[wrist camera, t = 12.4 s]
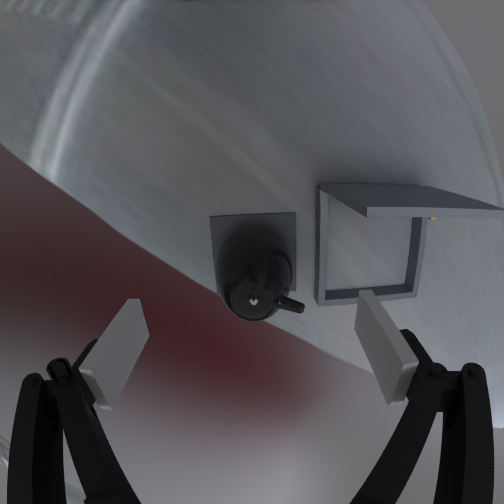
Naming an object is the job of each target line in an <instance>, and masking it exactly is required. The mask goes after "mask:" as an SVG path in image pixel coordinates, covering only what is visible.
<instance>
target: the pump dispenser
mask: <svg viewBox="0 0 504 504" xmlns="http://www.w3.org/2000/svg"><path fill="white" fill-rule="evenodd" d="M293 276H294V262H293V257H292V253H291V251H290V248H289V246H288V245H287V243H286V242H285V241H284V240H283V239H282V238H281V237H280V236H279V235H278V234H276V233H274V232H273V231H270V230H268V229H265V228H259V227H250V228H245V229H241V230H239V231H237V232H235V233H233V234H232V235H230V236H229V237H228V238H227V239H226V240H225V241H224V242H223V244H222V245H221V247H220V249H219V251H218V254H217V258H216V264H215V277H216V283H217V287H218V290H219V293H220V295H221V297H222V299H223V301H224V303H225V304H226V306H227V307H228V308H229V310H230V311H231V312H232V313H233V314H235V315H236V316H237V317H239V318H241V319H243V320H246V321H252V322H256V321H262V320H265V319H267V318H269V317H271V316H272V315H274V314H275V313H276V312H277V311H278V310H279V309H284V310H288V311H292V312H296V313H300V314H301V313H303V311H304V309H305V305H304V304H303V303H300V302H298V301H296V300H293V299H291V298H289V297H288V295H289V292H290V290H291V287H292V283H293Z"/></svg>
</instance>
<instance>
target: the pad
mask: <svg viewBox="0 0 504 504" xmlns="http://www.w3.org/2000/svg"><path fill="white" fill-rule="evenodd" d="M210 225H211V236H212V246H213V256H214V266H215V264H216V258H217V254H218V251H219V249H220V247H221V245H222V244H223V242H224V241H225V240H226V239H227V238H228V237H229V236H230V235H232V234H233V233H235V232H237V231H239V230H241V229H245V228H250V227H259V228H265V229H268V230H270V231H273V232H274V233H276V234H278V235H279V236H280V237H281V238H282V239H283V240H284V241H285V242H286V243H287V245H288V246H289V248H290V251H291V253H292V257H293V262H294V276H293V283H292V287H291V290H290V291H296V213H295V212H294V213H268V214H246V215H227V216H210ZM216 285H217V283H216ZM217 294H220V293H219V290H218V287H217Z"/></svg>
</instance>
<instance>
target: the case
mask: <svg viewBox="0 0 504 504" xmlns="http://www.w3.org/2000/svg"><path fill="white" fill-rule="evenodd" d="M328 197H334V198H335V199H337V200H339V201H340V202H342V203H344V204H346V205H347V206H349V207H351V208H352V209H354V210H355V211H357V212H359V213H360V214H362V215H364V216H365V217H413V220H412V232H411V242H410V251H409V259H408V267H407V274H406V280H405V284H403V285H393V286H382V287H370V288H358V289H345V290H331V291H325V288H326V267H327V235H328ZM435 217H462V218H503V219H504V209H503V208H500V207H497V206H494V205H491V204H488V203H485V202H482V201H479V200H476V199H472V198H469V197H466V196H462V195H459V194H456V193H452V192H449V191H445V190H441V189H437V188H434V187H430V186H413V185H388V184H320V187H316V266H315V295H314V297H315V300H316V303H317V306H332V305H344V304H356V303H358V297H359V290H369V289H371V290H372V291H373V293H374V294H375V296H376V297H377V298H378V300H379V301H386V300H396V299H404V298H413V297H417V292H418V286H419V281H420V275H421V269H422V262H423V255H424V247H425V239H426V229H427V218H428V219H430V220H435Z"/></svg>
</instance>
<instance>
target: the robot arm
mask: <svg viewBox="0 0 504 504" xmlns="http://www.w3.org/2000/svg"><path fill="white" fill-rule="evenodd" d="M354 329H355V331H356V334H357V336H358V338H359V340H360V342H361V345H362V347H363V349H364V351H365V353H366V356H367V358H368V360H369V362H370V365H371V367H372V369H373V372H374V374H375V376H376V378H377V381H378V383H379V386H380V388H381V390H382V393H383V395H384V397H385V400H386V402H387V404H388V407H390V406H394V405H399V404H402V403H403V401H404V399H405V397H406V396H407V398H408V400H409V402H408V405H407V407H406V409H405V411H404V413H403V415H402V417H401V419H400V421H399V423H398V425H397V427H396V429H395V431H394V433H393V435H392V437H391V439H390V441H389V443H388V444H387V446H386V448H385V450H384V451H383V453H382V455H381V457H380V458H379V460H378V462H377V464H376V465H375V467H374V468H373V470H372V471H371V473H370V475H369V476H368V478H367V479H366V481H365V482H364V484H363V485H362V487H361V488H360V490H359V491H358V493H357V494H356V495H355V497H354V498H353V500H352V501H351V502H350V504H395V503H396V501H397V500H398V498H399V496H400V494H401V493H402V491H403V489H404V487H405V485H406V483H407V481H408V479H409V477H410V475H411V473H412V471H413V469H414V467H415V465H416V463H417V461H418V458H419V456H420V454H421V452H422V449H423V447H424V445H425V442H426V439H427V437H428V435H429V432H430V429H431V427H432V424H433V421H434V418H435V416H436V413H437V412H443V430H442V444H441V455H440V464H439V472H438V480H437V486H436V492H435V497H434V502H433V504H492V503H493V488H494V441H493V427H492V416H491V407H490V400H489V393H488V386H487V381H486V375H485V371H484V369H483V368H482V367H481V366H480V365H478V364H476V363H467V364H465V365H464V366H463V367H462V369H461V371H447V369H446V368H445V367H444V366H443V365H442V364H439V363H435V362H433V361H432V360H431V358H430V357H429V355H428V354H427V352H426V351H425V349H424V348H423V346H422V345H421V343H420V342H419V341H418V339H417V338H416V336H415V335H414V334H413V333H412V332H411V331H409V330H408V329H403V330H399V329H398V328H397V326H396V325H395V323H394V322H393V320H392V319H391V317H390V316H389V314H388V313H387V311H386V310H385V309H384V307H383V306H382V304H381V303H380V301H379V300H378V298H377V297H376V296H375V294H374V293H373V291H372V290H371V289H369V290H359V297H358V305H357V313H356V320H355V327H354ZM148 337H149V333H148V329H147V326H146V322H145V319H144V315H143V311H142V307H141V304H140V300H139V299H128V300H127V302H126V303H125V304H124V306H123V307H122V308H121V310H120V311H119V312H118V314H117V315H116V316H115V318H114V319H113V320H112V322H111V323H110V324H109V326H108V327H107V329H106V330H105V331H104V333H103V334H102V336H101V337H100V338H99V340H98V339H95V340H93V341H92V342H90V343H89V344H88V345H87V346H86V348H85V349H84V352H82V353H81V356H79V357H78V359H77V360H76V362H75V363H74V365H73V366H72V367H71V365H70V363H69V361H68V360H67V359H65V358H57V359H54V360H52V361H51V362H50V363H49V364H48V365H47V368H46V370H47V372H48V374H49V376H50V378H51V379H52V380H43V378H42V376H41V375H40V374H38V373H32V374H29V375H27V376H26V377H25V378H24V380H23V382H22V386H21V390H20V394H19V398H18V403H17V408H16V413H15V419H14V424H13V430H12V437H11V445H10V453H9V464H8V481H7V504H67V502H66V493H65V482H64V466H63V429H64V433H65V437H66V440H67V444H68V447H69V450H70V454H71V457H72V460H73V463H74V466H75V469H76V471H77V474H78V477H79V479H80V482H81V485H82V487H83V490H84V492H85V495H86V499H85V500H84V504H141V503H140V501H139V499H138V498H137V496H136V494H135V493H134V491H133V489H132V487H131V485H130V484H129V482H128V480H127V478H126V477H125V475H124V473H123V471H122V469H121V467H120V465H119V463H118V461H117V459H116V457H115V455H114V453H113V451H112V449H111V446H110V444H109V442H108V440H107V437H106V435H105V433H104V431H103V428H102V426H101V423H100V421H99V419H98V416H97V413H96V411H95V409H94V407H93V404H94V402H95V401H96V402H97V404H98V406H99V407H100V408H102V409H107V410H113V408H114V406H115V404H116V402H117V399H118V397H119V395H120V393H121V391H122V389H123V387H124V385H125V383H126V381H127V379H128V377H129V375H130V373H131V371H132V369H133V367H134V365H135V362H136V360H137V359H138V357H139V355H140V353H141V351H142V349H143V347H144V345H145V343H146V341H147V339H148Z"/></svg>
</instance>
